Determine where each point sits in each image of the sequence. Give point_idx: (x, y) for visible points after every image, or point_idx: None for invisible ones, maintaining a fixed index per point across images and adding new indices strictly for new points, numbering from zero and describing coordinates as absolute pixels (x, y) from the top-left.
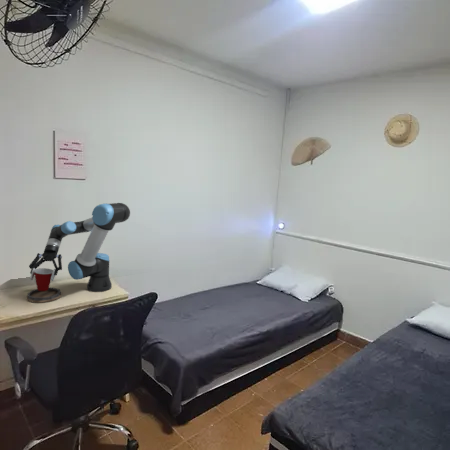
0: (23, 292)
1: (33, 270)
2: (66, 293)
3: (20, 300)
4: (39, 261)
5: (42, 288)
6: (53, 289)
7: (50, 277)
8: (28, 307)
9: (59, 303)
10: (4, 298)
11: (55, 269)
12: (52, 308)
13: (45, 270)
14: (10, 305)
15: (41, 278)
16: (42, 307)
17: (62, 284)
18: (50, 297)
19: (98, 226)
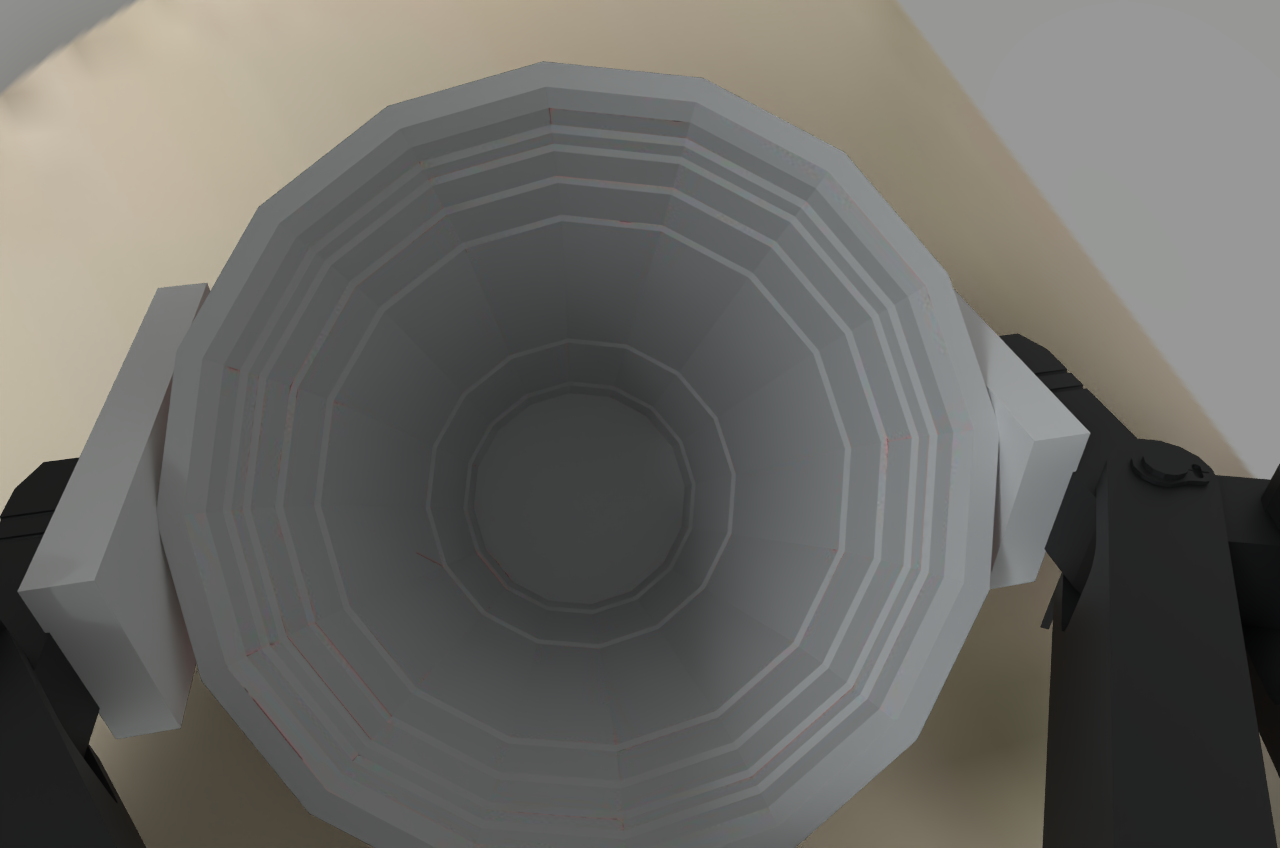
0: (1022, 617)
1: (947, 281)
2: (206, 779)
3: None
4: (1188, 832)
5: (524, 374)
6: None
7: (328, 485)
8: (533, 18)
9: (96, 255)
10: (1118, 296)
11: (40, 638)
12: (113, 31)
13: (695, 786)
14: (845, 53)
15: (511, 235)
16: (309, 47)
17: None
18: None
19: None
